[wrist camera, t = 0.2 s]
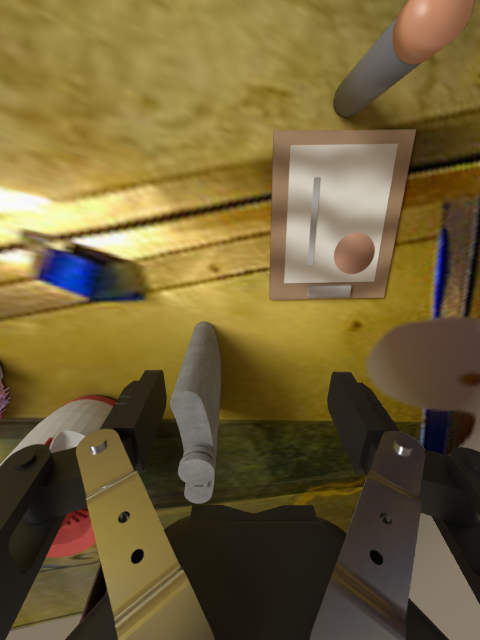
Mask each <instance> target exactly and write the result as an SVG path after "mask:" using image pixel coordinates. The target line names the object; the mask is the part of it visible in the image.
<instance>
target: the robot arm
mask: <svg viewBox="0 0 480 640" xmlns="http://www.w3.org/2000/svg"><path fill="white" fill-rule="evenodd" d="M166 399H167V398H166V389H165V381H164V374H163V371H162V370H145V372H144V373H143V375H142V377H141V379H140V381H132V382H131V383H130V384H129V385H128V386H126V387H125V388H124V390H123V391H122V393H121V395H120V398H118V400H117V401H116V404H115V405H114V406H113V408H112V410H111V411H110V413H109V414H108V416H107V418H106V419H105V421H104V423H103V424H102V426H101V428H100V429H99V430H97V431H94V432H92V433H90V434H88V435H87V436H86V437H84V438H83V439H82V440H81V441H80V442H79V444H78V446H77V447H73V448H70V449H66V450H62V451H58V452H54V453H51V451H50V449H49V447H48V446H47V445H44V444H34V445H30V446H27V447H24V448H22V449H20V450H18V451H16V452H15V453H13V454H12V455H11V456H9V457H8V458H7V459H6V460H5V461H4V462H3V464H2V465H1V466H0V640H5V639H6V637H7V635H8V633H9V631H10V629H11V627H12V625H13V623H14V621H15V619H16V617H17V615H18V613H19V611H20V609H21V607H22V605H23V603H24V601H25V599H26V597H27V595H28V592H29V590H30V588H31V586H32V584H33V582H34V580H35V578H36V576H37V574H38V572H39V570H40V568H41V566H42V564H43V562H44V560H45V558H46V556H47V554H48V552H49V550H50V548H51V545H52V543H53V541H54V539H55V537H56V535H57V533H58V531H59V529H60V527H61V525H62V523H63V521H64V519H65V517H66V515H67V514H69V513H72V512H75V511H78V510H81V509H84V508H88V511H89V515H90V519H91V523H92V527H93V532H94V536H95V540H96V544H97V548H98V552H99V557H100V561H101V565H102V569H103V573H104V578H105V582H106V586H107V590H108V592H107V593H106V594H105V595H104V596H103V597H102V599H101V600H100V601H99V602H98V603H97V604H96V605H95V606H94V608H93V609H92V610H91V611H90V612H89V613H88V614H87V615H86V617H85V618H84V619H83V620H82V621H81V622H80V623H79V625H78V626H77V627H76V628H75V629H74V630H73V631H72V632H71V634H70V635H69V636H68V637H67V638H66V639H65V640H449V639H448V638H447V637H446V636H445V635H444V634H443V633H442V632H441V631H440V630H439V629H438V628H437V627H436V626H435V625H434V624H433V622H432V621H431V620H430V619H429V618H428V617H427V616H426V615H425V614H424V613H423V612H422V611H421V610H420V609H419V608H418V607H417V606H416V605H415V604H414V603H413V602H412V601H411V600H410V598H409V592H410V584H411V577H412V570H413V563H414V556H415V549H416V542H417V535H418V528H419V521H420V514H421V513H424V514H427V515H430V516H432V518H433V520H434V521H435V523H436V525H437V527H438V528H439V530H440V532H441V534H442V536H443V538H444V540H445V541H446V543H447V545H448V547H449V549H450V551H451V553H452V554H453V556H454V558H455V560H456V562H457V564H458V565H459V567H460V569H461V571H462V573H463V575H464V576H465V578H466V580H467V582H468V584H469V586H470V587H471V589H472V591H473V593H474V595H475V596H476V598H477V600H478V602H479V604H480V452H478V451H475V450H473V449H469V448H463V447H459V448H456V449H454V450H453V451H452V453H451V455H450V456H447V455H443V454H439V453H435V452H431V451H428V450H425V449H424V448H423V446H422V445H421V444H420V443H419V442H418V441H417V440H416V439H415V438H413V437H412V436H410V435H408V434H406V433H403V432H400V431H399V429H398V428H397V426H396V425H395V423H394V422H393V420H392V419H391V417H390V416H389V415H388V413H387V412H386V410H385V409H384V407H382V404H381V403H380V401H379V400H377V397H376V396H375V394H374V393H373V391H372V390H371V389H370V388H368V387H367V386H366V385H364V384H363V383H357V381H356V380H355V378H354V377H353V375H352V373H351V372H333V373H332V376H331V381H330V387H329V393H328V399H327V403H328V409H329V412H330V415H331V417H332V420H333V422H334V424H335V427H336V429H337V432H338V434H339V436H340V439H341V441H342V444H343V446H344V448H345V451H346V453H347V456H348V458H349V460H350V463H351V465H352V468H353V470H354V472H355V475H366V476H367V478H366V481H365V484H364V487H363V490H362V492H361V495H360V498H359V501H358V504H357V506H356V509H355V512H354V515H353V518H352V521H351V523H350V526H349V529H348V532H347V534H346V533H345V532H344V531H343V530H342V529H340V528H339V527H337V526H336V525H334V524H332V523H331V522H329V521H327V520H324V519H322V518H319V517H316V514H315V510H314V506H312V505H283V506H280V507H276V508H273V509H269V510H266V511H262V512H259V513H248V512H245V511H241V510H238V509H234V508H231V507H227V506H224V505H192V512H191V516H188V517H185V518H183V519H180V520H178V521H176V522H175V523H173V524H171V525H170V526H168V527H167V528H166V529H163V527H162V525H161V523H160V520H159V518H158V516H157V514H156V512H155V509H154V507H153V505H152V503H151V500H150V498H149V496H148V494H147V492H146V489H145V487H144V485H143V483H142V480H141V478H140V476H139V474H138V472H143V471H144V468H145V465H146V462H147V459H148V457H149V454H150V451H151V448H152V445H153V442H154V440H155V437H156V434H157V431H158V428H159V425H160V423H161V420H162V417H163V414H164V411H165V408H166Z"/></svg>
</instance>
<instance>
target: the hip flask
mask: <svg viewBox="0 0 480 640" xmlns="http://www.w3.org/2000/svg"><path fill="white" fill-rule="evenodd" d="M221 382H222V370H221V357H220V350H219V345H218V340H217V336H216V333H215V329H214V327H213V325H212V324H210V323H209V322H200V323H198V324H197V325H196V326H195V329H194V332H193V335H192V337H191V340H190V343H189V346H188V349H187V352H186V355H185V358H184V361H183V364H182V367H181V370H180V373H179V376H178V379H177V382H176V385H175V388H174V391H173V394H172V397H171V400H170V406H171V409H172V411H173V414H174V416H175V419H176V421H177V424H178V427H179V431H180V435H181V438H182V443H183V449H184V454H183V458H182V459H181V461H180V464H179V468H178V475H179V477H180V478H181V480H183V481H184V482H186V485H185V492H184V495H185V497H186V499H187V500H189V501H190V502H193V503H204V502H207V501H208V500H210V498H211V497H212V493H213V487H214V478H215V465H216V451H217V437H218V423H219V410H220V396H221Z"/></svg>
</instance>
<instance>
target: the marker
mask: <svg viewBox="0 0 480 640" xmlns="http://www.w3.org/2000/svg"><path fill="white" fill-rule="evenodd" d="M473 6H474V0H408V2H407V3H406V4H405V5H404V7H403V8H402V9H401V11H400V12H399V14H398V16H397V17H396V18H395V20H394V21H393V22H392V23H391V24H390V26H389V27H388V28H387V29H386V30H385V32H384V33H383V34H382V35H381V36H380V37H379V39H378V40H377V41H376V42H375V43H374V45H373V46H372V47H371V48H370V49H369V51H368V52H367V53H366V54H365V55H364V57H363V58H362V59H361V60H360V61H359V63H358V64H357V65H356V66H355V67H354V69H353V70H352V71H351V72H350V73H349V74H348V76H347V77H346V78H345V79H344V80H343V82H342V83H341V84H340V85H339V87H338V88H337V90H336V93H335V98H334V110H335V112H336V113H337V114H338V115H339V116H341V117H351V116H354V115H356V114H357V113H359V112H360V111H361V110H362V109H364V108H365V107H366V106H367V105H369V104H370V103H371V102H373V101H374V100H375V99H376V98H378V97H379V96H380V95H381V94H383V93H384V92H385V91H386V90H388V89H389V88H390V87H391V86H393V85H394V84H395V83H397V82H398V81H399V80H400V79H402V78H403V77H404V76H405V75H407V74H408V73H409V72H410V71H412V70H413V69H414V68H415V67H417V66H418V65H419V64H421V63H422V62H424V61H426V60H428V59H429V58H430V57H432V56H433V55H434V54H435V53H437V52H438V51H439V50H441V49H442V48H443V47H444V46H446V45H447V44H448V43H450V42H451V41H452V40H453V39H455V38H456V37H457V36H458V35H459V34H460V33H461V32H462V30H463V29H464V27H465V26H466V24H467V22H468V20H469V18H470V16H471V13H472V10H473Z"/></svg>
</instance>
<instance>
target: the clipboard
mask: <svg viewBox="0 0 480 640" xmlns="http://www.w3.org/2000/svg"><path fill="white" fill-rule="evenodd" d="M415 133H416V129H399V130H319V131H274V134H273V172H272V211H271V249H270V287H269V299H270V300H287V299H336V298H384V295H385V290H386V285H387V280H388V274H389V269H390V264H391V259H392V253H393V248H394V243H395V238H396V232H397V227H398V222H399V217H400V211H401V206H402V201H403V196H404V191H405V185H406V180H407V175H408V170H409V164H410V159H411V154H412V149H413V143H414V138H415Z"/></svg>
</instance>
